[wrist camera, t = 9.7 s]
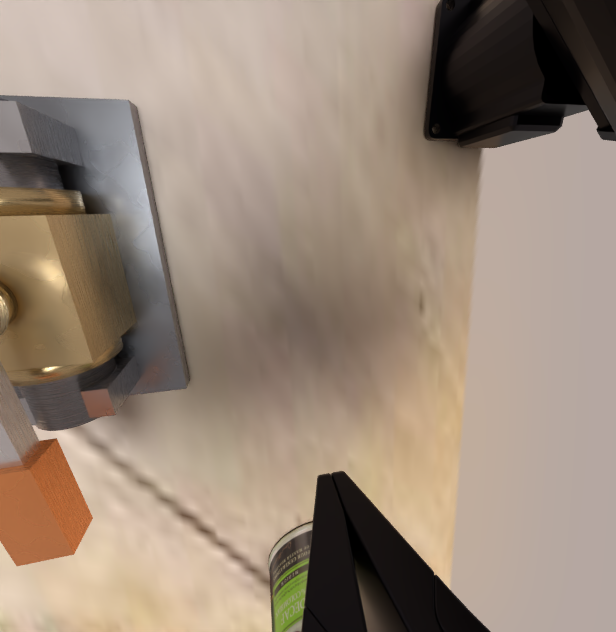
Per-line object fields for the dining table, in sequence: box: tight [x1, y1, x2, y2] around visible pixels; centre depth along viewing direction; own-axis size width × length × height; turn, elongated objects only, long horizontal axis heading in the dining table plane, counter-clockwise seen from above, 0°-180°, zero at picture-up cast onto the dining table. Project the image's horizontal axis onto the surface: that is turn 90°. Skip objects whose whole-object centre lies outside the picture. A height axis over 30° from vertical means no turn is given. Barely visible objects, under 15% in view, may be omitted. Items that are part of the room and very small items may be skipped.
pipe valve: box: [0, 95, 190, 431], centre depth 13 cm, size 16×10×7 cm, turn 1°
